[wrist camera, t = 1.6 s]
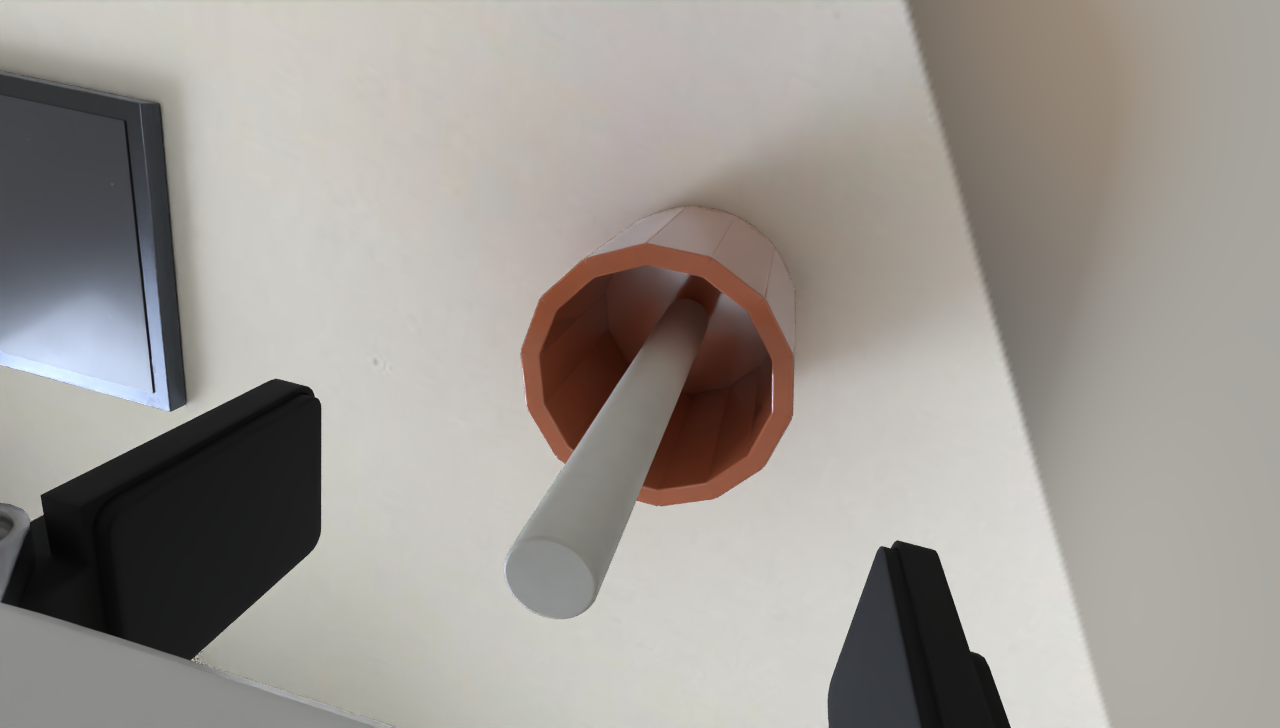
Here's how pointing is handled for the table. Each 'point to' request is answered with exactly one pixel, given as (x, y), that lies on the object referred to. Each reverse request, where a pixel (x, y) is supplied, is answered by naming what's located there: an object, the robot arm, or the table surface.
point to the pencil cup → (723, 367)
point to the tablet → (87, 242)
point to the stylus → (604, 475)
